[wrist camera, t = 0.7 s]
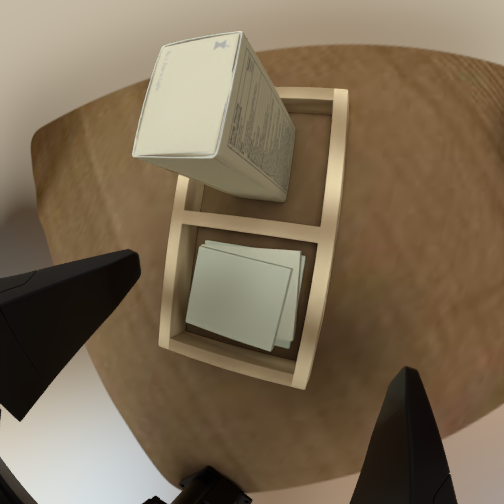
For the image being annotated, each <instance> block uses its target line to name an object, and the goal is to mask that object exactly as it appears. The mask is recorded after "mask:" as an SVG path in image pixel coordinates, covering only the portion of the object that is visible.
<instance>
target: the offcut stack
mask: <svg viewBox="0 0 504 504" xmlns="http://www.w3.org/2000/svg"><path fill="white" fill-rule="evenodd" d="M305 260H306V256H302V251H293V250H279V249H264V248H253V247H246V246H240V245H234V244H228V243H221V242H215V241H209V240H205V245H204V244H202V245H201V246H199V251H198V256H197V261H196V266H195V271H194V277H193V282H192V287H191V293H190V298H189V304H188V310H187V316H186V322H187V323H190V324H192V325H195V326H197V327H200V328H203V329H206V330H208V331H211V332H214V333H216V334H219V335H222V336H225V337H228V338H231V339H233V340H236V341H239V342H242V343H245V344H248V345H251V346H254V347H257V348H261V349H264V350H267V351H270V352H271V350H272V349H273V348H274V346H279V347H283V348H288V349H289V348H290V344H291V341H293V340H294V338H295V330H296V320H297V310H298V302H299V296H300V290H301V285H302V279H303V273H304V266H305Z"/></svg>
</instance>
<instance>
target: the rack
mask: <svg viewBox="0 0 504 504" xmlns="http://www.w3.org/2000/svg"><path fill="white" fill-rule="evenodd" d="M275 89H276V91H277V93H278V95H279V96H280V98H281V100H282V102H283V104H284V106H285V108H286V110H287V112H289V113H311V114H326V115H332V126H331V138H330V149H329V160H328V169H327V179H326V187H325V196H324V204H323V212H322V219H321V227H316V226H309V225H301V224H294V223H287V222H279V221H272V220H264V219H256V218H248V217H239V216H231V215H222V214H214V213H205V212H200V210H201V204H202V197H203V191H204V185H205V184H202V183H200V182H197V181H195V180H192V179H190V178H187V177H184V176H182V175H179V176H178V182H177V188H176V193H175V200H174V206H173V212H172V219H171V226H170V233H169V240H168V248H167V256H166V264H165V273H164V283H163V293H162V304H161V317H160V331H159V346H160V347H163V348H166V349H168V350H171V351H174V352H176V353H179V354H182V355H185V356H188V357H190V358H193V359H196V360H199V361H202V362H205V363H208V364H211V365H214V366H218V367H221V368H224V369H227V370H230V371H234V372H237V373H241V374H244V375H248V376H251V377H255V378H258V379H262V380H266V381H270V382H274V383H278V384H282V385H286V386H290V387H294V388H299V389H303V390H305V388H306V386H307V383H308V380H309V378H310V374H311V370H312V366H313V362H314V358H315V353H316V349H317V344H318V340H319V335H320V330H321V326H322V321H323V316H324V311H325V305H326V300H327V295H328V289H329V284H330V278H331V272H332V266H333V259H334V253H335V246H336V240H337V232H338V225H339V217H340V209H341V201H342V192H343V183H344V172H345V161H346V149H347V135H348V118H349V97H348V90H344V89H331V88H312V87H275ZM198 226H201V227H208V228H215V229H223V230H230V231H237V232H244V233H251V234H258V235H265V236H272V237H279V238H286V239H292V240H299V241H306V242H312V243H318V248H317V254H316V261H315V267H314V273H313V279H312V285H311V291H310V296H309V302H308V307H307V313H306V318H305V323H304V328H303V333H302V338H301V343H300V348H299V353H298V358H297V361H294V360H289V359H285V358H281V357H277V356H272V355H268V354H264V353H260V352H256V351H252V350H249V349H245V348H241V347H237V346H234V345H230V344H227V343H223V342H220V341H216V340H213V339H209V338H206V337H203V336H199V335H196V334H193V333H190V332H187V331H186V316H187V310H188V302H189V293H190V284H191V275H192V267H193V259H194V252H195V244H196V237H197V230H198Z"/></svg>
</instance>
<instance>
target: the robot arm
mask: <svg viewBox="0 0 504 504" xmlns="http://www.w3.org/2000/svg"><path fill="white" fill-rule="evenodd" d="M140 275H141V267H140V259H139V255H138V253H136V252H134V251H132V250H130V249H126V250H121V251H117V252H112V253H108V254H103V255H99V256H94V257H90V258H86V259H82V260H77V261H73V262H69V263H65V264H60V265H56V266H52V267H48V268H44V269H40V270H38V271H37V270H36V271H32V272H28V273H24V274H19V275H14V276H9V277H5V278H0V404H2V405H3V407H5V408H6V409H7V410H8V411H9V412H10V413H11V414H12V415H13V416H14V417H15V418H16V419H17V420H18V421H19V422H20V421H21V420H22V419H23V418H24V417H25V415H26V414H27V413H28V412H29V410H30V409H31V408H32V407H33V405H34V404H35V403H36V401H37V400H38V399H39V398H40V396H41V395H42V394H43V393H44V391H45V390H46V389H47V387H48V385H50V384H51V382H52V381H53V380H54V379H55V378H56V376H57V375H58V374H59V373H60V371H61V370H62V369H63V368H64V367H65V366H66V364H67V363H68V362H69V361H70V360H71V359H72V357H73V356H74V355H75V354H76V353H77V352H78V350H79V349H80V348H81V347H82V346H83V345H84V344H85V342H86V341H87V340H88V339H89V338H90V337H91V336H92V335H93V333H94V332H95V331H96V330H97V329H98V328H99V327H100V326H101V324H102V323H103V322H104V321H105V320H106V319H107V318H108V317H109V316H110V315H111V314H112V312H113V311H114V310H115V309H116V308H117V306H118V305H119V304H120V303H121V301H122V300H123V299H124V297H125V296H126V295H127V293H128V292H129V291H130V289H131V288H132V287H133V286H134V284H135V283H136V282H137V280H138V279H139V277H140ZM0 418H1V409H0ZM449 473H450V470H449V467H448V462H447V459H446V455H445V451H444V448H443V444H442V440H441V437H440V434H439V430H438V427H437V424H436V421H435V418H434V415H433V412H432V409H431V406H430V403H429V400H428V397H427V394H426V391H425V389H424V386H423V383H422V380H421V378H420V375H419V372H418V371H417V370H416V369H414V368H411V367H408V366H405V367H403V368H402V369H401V371H400V372H399V373H398V374H397V375H396V377H395V378H394V379H393V380H392V381H391V383H390V385H389V387H388V390H387V393H386V396H385V399H384V402H383V405H382V408H381V411H380V414H379V416H378V419H377V422H376V424H375V427H374V430H373V433H372V436H371V440H370V443H369V447H368V450H367V454H366V457H365V460H364V463H363V467H362V470H361V473H360V476H359V479H358V482H357V485H356V488H355V490H354V493H353V496H352V498H351V501H350V504H458V503H457V499H456V495H455V491H454V487H453V483H452V478H451V475H450V474H449ZM179 486H180V487H181V488H183V489H184V490H183V491H182V492H181V493H180V494H179V495H178V496H177V497H176V498H175V500H174V501H173V502H172V503H171V504H251V503H252V499H251V498H250V497H248V496H247V495H246V494H244V493H243V492H242V491H240V490H239V489H238V488H236V487H235V486H234V485H232V484H231V483H230V482H229V481H227V480H226V479H225V478H223V477H222V476H221V475H220V474H219V473H217V472H216V471H215V470H214V469H212V468H211V467H208V466H207V467H205V468H203V469H202V470H200V471H198V472H196V473H195V474H193V475H191V476H189V477H188V478H186V479H184V480H182V481H181V482H180V483H179ZM0 504H38V503H37V502H36V501H35V500H34V499H33V498H32V497H31V496H30V494H29V493H28V492H27V491H26V490H25V488H24V487H23V486H22V485H21V484H20V482H19V481H18V480H17V479H16V478H15V476H14V475H13V474H12V472H11V471H10V470H9V468H8V467H7V466H6V464H5V463H4V462H3V460H2V459H1V457H0ZM143 504H167V503H165V502H164V501H162V500H160V498H158V497H157V496H154V497H153V498H152V499H148V500H147V501H145V502H144V503H143Z"/></svg>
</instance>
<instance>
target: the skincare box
mask: <svg viewBox="0 0 504 504" xmlns="http://www.w3.org/2000/svg"><path fill="white" fill-rule="evenodd" d="M295 132H296V129H295V126H294V124H293V122H292V120H291V118H290V116H289V114H288V112H287V110H286V108H285V106H284V104H283V102H282V100H281V98H280V96H279V95H278V93H277V91H276V89H275V87H274V85H273V83H272V82H271V80H270V78H269V76H268V74H267V72H266V71H265V69H264V67H263V65H262V64H261V62H260V60H259V58H258V57H257V55H256V53H255V51H254V50H253V48H252V47H251V45H250V43H249V41H248V40H247V38H246V37H245V35H244V33H243V32H242V31H237V32H230V33H221V34H214V35H208V36H203V37H197V38H192V39H187V40H183V41H179V42H175V43H171V44H167V45H164V46H163V47H162V49H161V51H160V54H159V56H158V59H157V62H156V64H155V68H154V71H153V73H152V76H151V80H150V83H149V86H148V90H147V93H146V97H145V101H144V104H143V108H142V112H141V116H140V120H139V124H138V129H137V133H136V138H135V142H134V147H133V152H132V156H133V157H134V158H137V159H140V160H142V161H145V162H148V163H151V164H153V165H156V166H159V167H161V168H164V169H166V170H169V171H172V172H174V173H177V174H179V175H182V176H184V177H187V178H190V179H192V180H195V181H197V182H200V183H202V184H205V185H207V186H210V187H212V188H215V189H217V190H220V191H222V192H224V193H227V194H229V195H231V196H234V197H240V198H247V199H255V200H264V201H272V202H281V203H282V202H285V201H286V197H287V191H288V185H289V179H290V172H291V165H292V157H293V150H294V142H295Z"/></svg>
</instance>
